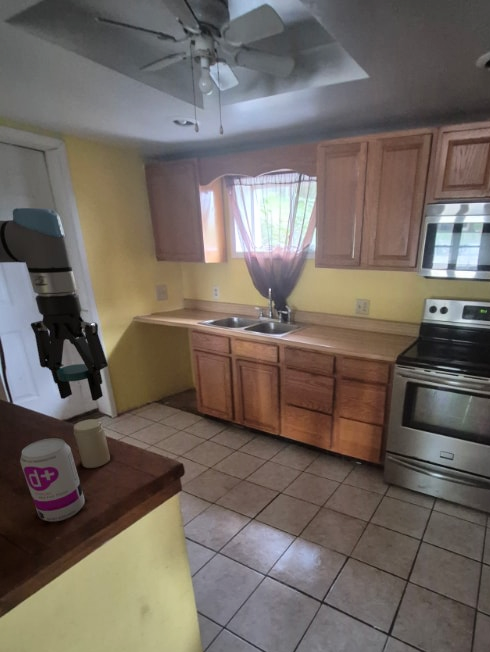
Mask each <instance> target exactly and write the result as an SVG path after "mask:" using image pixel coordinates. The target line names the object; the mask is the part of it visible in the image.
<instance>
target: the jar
mask: <svg viewBox="0 0 490 652" xmlns="http://www.w3.org/2000/svg"><path fill="white" fill-rule="evenodd" d="M73 436H74V439H75V443H76V446H77V451H78V454H79V458H80V462H81V465H82V467H83V468H86V469H94V468H98V467H102V466H104V465H106V464H107V463H108V462H109V461H110V460H111V454H110V449H109V447H108V446H109V445H108V442H107V438H106V432H105V429H104V426H103V424H102V421H101V420H100V419H96V418H91V419H90V418H89V419H85V420H81V421H79V422H76V423H75V424H74V425H73Z"/></svg>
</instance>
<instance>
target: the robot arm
mask: <svg viewBox="0 0 490 652" xmlns="http://www.w3.org/2000/svg"><path fill="white" fill-rule="evenodd" d="M66 237H67V234H66V233H65V231H64V227H63V225H62V220H61V217H60V215H59V214H58V212H56V211H55V210H53V209H48V208H36V207H35V208H33V207H19V208H18V207H17V208H14V209H13V210H12V219H11V220H10V219H9V220H0V263H3V264H4V263H5V264H6V263H20V264H21V263H22V264H24V263H25V265H26V268H27V272H28V276H29V278H30V282H31V286H32V290H33V292H34V293H35V294H37V295H36V296H35V301H36V305H37V309H38V313H39V314H40V315H42V320H38V321H34V322H31V323H30V327H31V329H32V331H33V333H34V338H35V343H36V348H37V354H38V360H39V365H40V367H41V368H44V369H45V368H46V369H49V371H50V372H51V376H52V379H53V383H54V384H56V386H57V389H58V392H59V396H60V399H61V400H62V399H63V400H65V399H66V398H68V397H70V396H72V395H73V392H72V391H73V390H72V388H71V387H72V386H71V383H70V381H61V380H59V379H58V376H57V370H58V369H60V368H63V367H65V366H64V364H63V355H64V354H63V353H64V343H65V341H66V340H67V341H69V342H70V344H71V345H73V346H74V347H75V349H76V351H77V353H78V354H79V356H80V358H81V360H82V362H83V364H85V365H86V366H87V368H88V370H89V371H88V372H87V373H86V375H87V379H86V380H87V383H88V387H89V388H88V389H89V391H90V397H91V400H92V402H93V401H95V402H96V401H97V400H99V399H101V398H102V397H104V395H103V389H102V386H101V385H102V384H103V378H102V373H101V370H103V369H105V368H107V367H108V366H109V365H108V360H107V357H106V355H105V351H104V348H103V345H102V342H101V339H100V335H99V332H98V331H99V325H98V323H97V322H87V321H85V320H84V319H83V316H82V315H81V312H82V307H81V302H80V297H79V295H78V294H77V293H76V291H77V290H78V287H77V283H76V279H75V275H74V270H73V267H72V264H71V258H70V254H69V249H68V245H67V240H66Z"/></svg>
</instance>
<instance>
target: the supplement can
mask: <svg viewBox="0 0 490 652" xmlns="http://www.w3.org/2000/svg"><path fill="white" fill-rule="evenodd" d="M72 452H73V451H72V448H71V446H69V444H67V443H66V441H65V440H64V439H62V438H58V437H57V438H56V437H55V438H54V437H52V438H45V439H40V440H37V441H34V442H32V443H30V444H28V445H27V446H25V447H24V448H23V449H22V450H21V455H20V459H19V463H20V466H21V469H22V472H23V474H24V478H25V480H26V483H27V487H28V489H29V492H30V495H31V498H32V500H33V504H34V507H35V509H36V512H37V515H38V517H39V518H40V520H43V521H47V522H60V521H64V520H67V519H69V518H71V517H74V516H75V515H76V514H77V513H78V512H79V511H80V510H81V509H82V508H83V507H84V505H85V502H86V501H85V495H84V493H83V489H82V485H81V481H80V477H79V475H78V471H77V470H78V469H77V466H76V463H75V460H74V459H75V458H74V456H73V453H72Z"/></svg>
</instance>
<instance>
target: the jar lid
mask: <svg viewBox="0 0 490 652" xmlns="http://www.w3.org/2000/svg"><path fill="white" fill-rule="evenodd" d="M88 371H89V370H88V368H87V366H86V365H85V363H77V364H71V365H66V366H62V367H60V369H58V370H57V376H58V379H59V380H61V381H69V382H78V381H83V380H87V375H86V373H87V372H88Z"/></svg>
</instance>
